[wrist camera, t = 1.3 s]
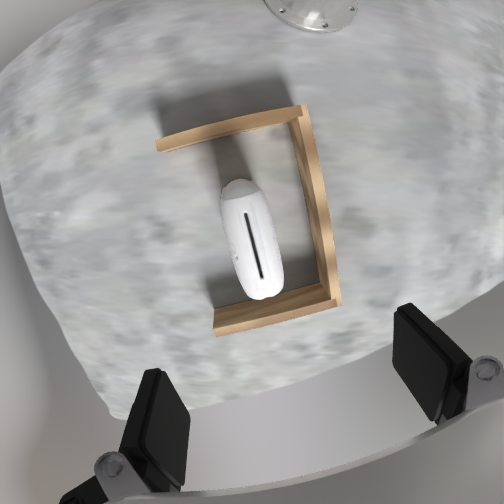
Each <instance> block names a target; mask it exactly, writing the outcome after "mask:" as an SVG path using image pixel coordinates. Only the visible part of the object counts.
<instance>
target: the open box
mask: <svg viewBox="0 0 504 504" xmlns="http://www.w3.org/2000/svg"><path fill="white" fill-rule="evenodd" d="M282 123H289V127H290V132H291V136H292V140H293V144H294V149H295V153H296V158H297V162H298V167H299V171H300V176H301V181H302V185H303V190H304V195H305V200H306V205H307V210H308V216H309V221H310V226H311V232H312V237H313V243H314V249H315V255H316V261H317V267H318V273H319V279H320V283H316V284H313V285H309V286H305V287H301V288H298V289H294V290H290V291H286V292H282V293H278V294H276V295H275V296H272V297H266V298H264V299H261V300H257V299H254V300H250V301H246V302H242V303H237V304H233V305H229V306H224V307H220V308H216V309H215V310H214V322H213V331H214V334H215V336H216V337H219V336H223V335H228V334H233V333H237V332H242V331H246V330H250V329H255V328H259V327H263V326H267V325H271V324H275V323H279V322H283V321H287V320H291V319H295V318H298V317H302V316H306V315H309V314H313V313H317V312H320V311H324V310H327V309H331V308H334V307H338V306H341V305H342V303H341V293H340V285H339V277H338V269H337V261H336V254H335V247H334V240H333V234H332V227H331V221H330V215H329V209H328V204H327V198H326V193H325V187H324V182H323V177H322V172H321V167H320V162H319V157H318V153H317V148H316V143H315V139H314V135H313V130H312V126H311V122H310V118H309V114H308V110H307V106H306V104H304V105H297V106H291V107H285V108H279V109H274V110H269V111H264V112H259V113H254V114H249V115H245V116H240V117H236V118H232V119H227V120H223V121H219V122H215V123H212V124H208V125H204V126H200V127H197V128H193V129H190V130H186V131H183V132H180V133H176V134H173V135H170V136H167V137H164V138H160V139H157V140H155V142H156V146H157V150H158V151H160V152H170V151H173V150H176V149H180V148H183V147H186V146H190V145H193V144H197V143H201V142H204V141H208V140H212V139H215V138H219V137H223V136H227V135H231V134H236V133H240V132H244V131H248V130H253V129H258V128H262V127H267V126H272V125H277V124H282Z"/></svg>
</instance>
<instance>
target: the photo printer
mask: <svg viewBox="0 0 504 504" xmlns="http://www.w3.org/2000/svg"><path fill="white" fill-rule="evenodd" d="M220 211H221V217H222V222H223V227H224V231H225V235H226V239H227V243H228V247H229V251H230V254H231V258H232V261H233V264H234V267H235V270H236V273H237V276H238V279H239V281H240V283H241V285H242V287H243V289H244V291H245V292H246V294H247V295H248V296H249V297H250V298H252V299H257V300H261V299H264V298H266V297H272V296H275V295H276V294H278V293H279V292H280V291H281V290H282V288H283V284H284V272H283V265H282V260H281V254H280V250H279V245H278V241H277V236H276V232H275V228H274V224H273V220H272V217H271V213H270V210H269V207H268V203H267V201H266V198H265V196H264V194H263V192H262V190H261V189H260V188H259V186H258V185H257V184H256V183H255V182H254V181H253V180H250V181H248V180H246V179H236V180H233V181H231V182H230V183H229V184H228V185H227V186H226V187H223V189H222V194H221V199H220Z"/></svg>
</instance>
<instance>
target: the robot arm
mask: <svg viewBox="0 0 504 504" xmlns="http://www.w3.org/2000/svg"><path fill="white" fill-rule="evenodd" d="M264 1H265V3H266V4H267V6H268V8H269V9H270V10H271V11H272V12H273V13H274V14H275V15H276V16H277V17H278V18H280V19H281V20H282V21H284V22H286V23H287V24H289V25H291V26H294V27H296V28H298V29H302V30H305V31H309V32H317V33H327V32H334V31H337V30H340V29H342V28H344V27H345V26H347V25H348V24H349V23H350V22H351V21H352V20H353V19H354V17H355V16H356V13H357V10H358V2H357V0H264ZM281 12H282V13H281ZM322 26H323V27H322ZM392 362H393V366H394V368H395V370H396V371H397V373H398V374H399V376H400V377H401V378H402V380H403V381H404V383H405V384H406V386H407V387H408V389H409V390H410V392H411V393H412V394H413V396H414V397H415V399H416V400H417V402H418V403H419V405H420V406H421V408H422V409H423V411H424V412H425V414H426V415H427V417H428V418H429V420H430V421H435V423H436V424H437V426H436V427H434V428H432V429H430V430H428V431H426V432H424V433H422V434H420V435H417V436H415V437H413V438H411V439H409V440H407V441H404V442H402V443H400V444H398V445H395V446H393V447H390V448H388V449H385V450H383V451H381V452H378V453H375V454H373V455H370V456H368V457H364V458H362V459H359V460H356V461H353V462H350V463H347V464H344V465H341V466H337V467H334V468H331V469H327V470H324V471H320V472H316V473H312V474H309V475H305V476H300V477H296V478H291V479H286V480H282V481H277V482H271V483H265V484H259V485H253V486H246V487H238V488H230V489H220V490H207V491H190V492H180V489H181V486H183V485H184V483H185V471H186V460H187V449H188V440H189V439H188V438H189V429H190V415H189V412H188V411H187V409H186V407H185V405H184V404H183V402H182V400H181V399H180V397H179V395H178V393H177V392H176V390H175V388H174V386H173V385H172V383H171V381H170V379H169V377H168V375H167V374H166V372H165V371H161V369H159V368H155V369H148V370H145V372H144V374H143V377H142V380H141V383H140V386H139V390H138V393H137V396H136V399H135V402H134V403H133V405H132V408H131V411H130V414H129V417H128V421H127V424H126V427H125V430H124V434H123V437H122V441H121V444H120V447H119V451H118V452H115V451H112V452H107V453H105V454H103V455H102V456H100V457H99V458H98V460H97V461H96V463H95V465H94V472H95V476H93V477H92V478H90V479H88V480H87V481H85V482H84V483H82V484H81V485H79V486H78V487H76V488H74V489H73V490H71V491H69V492H68V493H66V494H65V495H64V496H63V497H62V498H61V500H60V503H59V504H504V368H503V365H502V363H501V362H500V361H499V360H498V359H497V358H494V357H492V356H481V357H478V358H476V359H475V360H474V361H473V360H471V358H469V357H468V355H467V354H466V353H465V352H464V351H463V350H462V349H461V348H459V346H458V345H457V344H456V343H454V342H453V341H452V340H451V339H450V338H449V337H448V336H447V335H446V334H445V333H444V332H443V331H442V330H441V329H440V328H439V327H437V326H436V325H435V324H434V323H433V322H432V321H431V320H430V319H429V318H428V317H426V316H425V315H424V314H423V313H422V312H421V311H420V310H419V309H418V308H417V307H416V306H414V305H413V304H412V303H407V304H405V305H402V306H399V307H398V308H397V311H396V312H395V313H394V335H393V358H392Z"/></svg>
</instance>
